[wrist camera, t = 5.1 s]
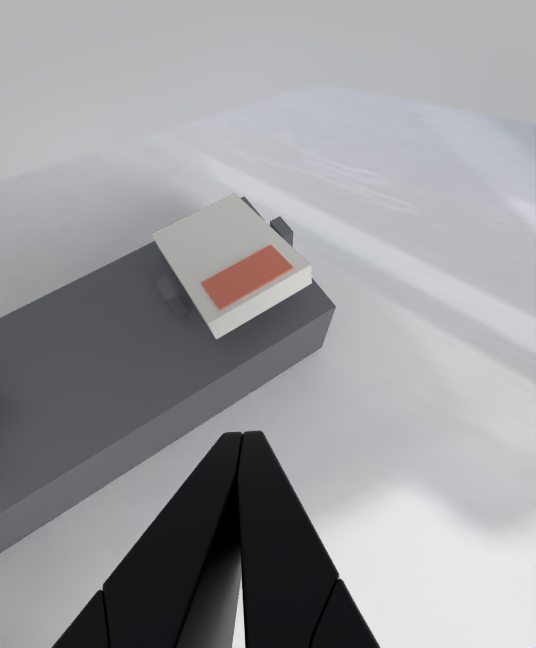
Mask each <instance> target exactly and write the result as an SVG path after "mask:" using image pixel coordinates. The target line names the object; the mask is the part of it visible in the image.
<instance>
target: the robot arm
mask: <svg viewBox="0 0 536 648" xmlns="http://www.w3.org/2000/svg"><path fill="white" fill-rule="evenodd" d="M241 572H242V590H243V609H244V628H245V647H246V648H380V646H379V644H378V643H377V641H376V639H375V637H374V636H373V634H372V632H371V630H370V629H369V627H368V625H367V623H366V622H365V620H364V618H363V616H362V615H361V613H360V611H359V609H358V608H357V606H356V604H355V602H354V600H353V598H352V597H351V595H350V593H349V591H348V589H347V587H346V585H345V584H344V582H343V580H342V579H339V573H338V571H337V569H336V567H335V565H334V564H333V562H332V560H331V558H330V556H329V554H328V552H327V551H326V549H325V547H324V545H323V543H322V541H321V539H320V538H319V536H318V534H317V532H316V530H315V528H314V526H313V525H312V523H311V521H310V519H309V517H308V515H307V513H306V511H305V510H304V508H303V506H302V504H301V502H300V500H299V498H298V497H297V495H296V493H295V491H294V489H293V487H292V485H291V484H290V482H289V480H288V478H287V476H286V474H285V472H284V471H283V469H282V467H281V465H280V463H279V461H278V459H277V458H276V456H275V454H274V452H273V450H272V448H271V446H270V444H269V443H268V441H267V439H266V437H265V435H264V433H263V432H262V431H246V432H244V434H242V433H241V432H226V433H224V434H222V436H221V437H220V438H219V439H218V441H217V442H216V443H215V444H214V446H213V447H212V448H211V449H210V451H209V452H208V453H207V454H206V456H205V457H204V458H203V459H202V461H201V462H200V463H199V464H198V466H197V467H196V468H195V469H194V471H193V472H192V473H191V474H190V476H189V477H188V478H187V480H186V481H185V482H184V483H183V485H182V486H181V487H180V488H179V490H178V491H177V492H176V493H175V495H174V496H173V497H172V498H171V500H170V501H169V502H168V503H167V505H166V506H165V507H164V508H163V510H162V511H161V512H160V513H159V515H158V516H157V517H156V519H155V520H154V521H153V522H152V524H151V525H150V526H149V527H148V529H147V530H146V531H145V532H144V534H143V535H142V536H141V537H140V539H139V540H138V541H137V542H136V544H135V545H134V546H133V547H132V549H131V550H130V551H129V552H128V554H127V555H126V556H125V557H124V559H123V560H122V561H121V563H120V564H119V565H118V566H117V568H116V569H115V570H114V571H113V573H112V574H111V575H110V576H109V578H108V579H107V580H106V581H105V583H104V584H103V591H102V590H98V591H97V592H96V594H95V595H94V596H93V597H92V599H91V600H90V601H89V602H88V604H87V605H86V606H85V607H84V609H83V610H82V611H81V612H80V614H79V615H78V616H77V618H76V619H75V620H74V621H73V622H72V624H71V625H70V626H69V627H68V628H67V630H66V631H65V632H64V633H63V634H62V636H61V637H60V638H59V639H58V641H57V642H56V643H55V644H54V645H53V647H52V648H232V641H233V634H234V626H235V618H236V611H237V603H238V595H239V588H240V580H241Z"/></svg>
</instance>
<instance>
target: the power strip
mask: <svg viewBox="0 0 536 648" xmlns="http://www.w3.org/2000/svg"><path fill="white" fill-rule="evenodd" d="M241 199H242V200H243V201H244V202H245V203H246V204H247V205H248V206H249V207H250V208H251V209H252V210H253V211H254V212H255V213H257V214H258V215H259V213H258V212H257V211H256V210H255V209H254V207H253V206H252V205H251V204H250V203H249V201H248V200H247V199H246V198H245V197H242V198H241ZM259 216H260V215H259ZM260 217H261V216H260ZM261 218H262V217H261ZM262 219H263V218H262ZM263 220H264V219H263ZM270 227H271V228H272V229H274V230H275V231H276V232H277V233H278V234H279V235H280V236H281V237H282V238H283V239H284V240H285V241H286V242H287V243H288V244H289V245H290V246H292V245H293V231H292V230H291V229H290V227H289V226H288V225H287V224H286V223H285V222H284V220H283V219H282V218H281V217H278V218H276V219H274V220H272V221H270ZM335 307H336V306H335V305H334V304H333V303H332V301H331V300H330V299H329V298H328V297H327V295H326V294H325V293H324V292H323V291H322V289H321V288H320V287H319V286H318V285H317V283H316V282H315V281H314V280H313V278H312V284H310V285H308V286H307V287H305V288H303V289H301V290H300V291H298V292H296V293H295V294H293V295H291V296H290V297H288V298H286V299H284V300H283V301H281V302H279V303H278V304H276V305H274V306H273V307H271V308H269V309H267V310H266V311H264V312H262V313H261V314H259V315H257V316H256V317H254V318H252V319H250V320H249V321H247V322H245V323H244V324H242V325H240V326H239V327H237V328H235V329H233V330H232V331H230V332H228V333H227V334H225V335H223V336H222V337H220V338H218V339H215V337H214V336H213V334H212V332H211V331H210V329H209V328H208V326H207V324H206V323H205V321H204V320H203V318H202V316H201V315H200V313H199V312H198V310H197V308H196V307H195V305H194V304H193V302H192V300H191V299H190V297H189V296H188V294H187V293H186V291H185V289H184V288H183V286H182V285H181V283H180V281H179V280H178V278H177V277H176V275H175V273H174V272H173V270H172V269H171V267H170V265H169V264H168V262H167V261H166V259H165V257H164V256H163V254H162V253H161V251H160V249H159V248H158V246H157V244H156V242H155V241H154V242H152V243H150V244H148V245H146V246H144V247H142V248H140V249H138V250H136V251H134V252H132V253H130V254H128V255H126V256H124V257H122V258H120V259H118V260H116V261H114V262H112V263H110V264H108V265H106V266H104V267H102V268H100V269H98V270H96V271H94V272H92V273H90V274H88V275H86V276H84V277H82V278H80V279H78V280H76V281H74V282H72V283H70V284H68V285H66V286H64V287H62V288H60V289H58V290H56V291H54V292H52V293H50V294H48V295H46V296H44V297H42V298H40V299H38V300H36V301H34V302H32V303H30V304H28V305H26V306H24V307H21V308H19V309H17V310H15V311H13V312H11V313H9V314H7V315H5V316H3V317H1V318H0V553H1V552H2V551H4V550H5V549H7V548H9V547H10V546H12V545H13V544H15V543H16V542H18V541H19V540H21V539H23V538H24V537H26V536H27V535H29V534H30V533H32V532H34V531H35V530H37V529H38V528H40V527H41V526H43V525H44V524H46V523H48V522H49V521H51V520H52V519H54V518H55V517H57V516H59V515H60V514H62V513H63V512H65V511H66V510H68V509H69V508H71V507H73V506H74V505H76V504H77V503H79V502H80V501H82V500H84V499H85V498H87V497H88V496H90V495H91V494H93V493H94V492H96V491H98V490H99V489H101V488H102V487H104V486H105V485H107V484H109V483H110V482H112V481H113V480H115V479H116V478H118V477H119V476H121V475H123V474H124V473H126V472H127V471H129V470H130V469H132V468H134V467H135V466H137V465H138V464H140V463H141V462H143V461H144V460H146V459H148V458H149V457H151V456H152V455H154V454H155V453H157V452H159V451H160V450H162V449H163V448H165V447H166V446H168V445H169V444H171V443H173V442H174V441H176V440H177V439H179V438H180V437H182V436H184V435H185V434H187V433H188V432H190V431H191V430H193V429H194V428H196V427H198V426H199V425H201V424H202V423H204V422H205V421H207V420H209V419H210V418H212V417H213V416H215V415H216V414H218V413H220V412H221V411H223V410H224V409H226V408H227V407H229V406H230V405H232V404H234V403H235V402H237V401H238V400H240V399H241V398H243V397H245V396H246V395H248V394H249V393H251V392H252V391H254V390H255V389H257V388H259V387H260V386H262V385H263V384H265V383H266V382H268V381H270V380H271V379H273V378H274V377H276V376H277V375H279V374H280V373H282V372H284V371H285V370H287V369H288V368H290V367H291V366H293V365H295V364H296V363H298V362H299V361H301V360H302V359H304V358H305V357H307V356H309V355H310V354H312V353H313V352H315V351H316V350H318V349H320V348H321V347H322V345H323V342H324V339H325V336H326V333H327V330H328V327H329V325H330V322H331V319H332V316H333V313H334V310H335Z"/></svg>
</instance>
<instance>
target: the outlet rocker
mask: <svg viewBox="0 0 536 648" xmlns="http://www.w3.org/2000/svg"><path fill="white" fill-rule="evenodd" d="M151 235H152V237H153V239H154V240H155V242H156V244H157V246H158V248H159V249H160V251H161V253H162V254H163V256H164V257H165V259H166V261H167V262H168V264H169V265H170V267H171V269H172V270H173V272H174V273H175V275H176V277H177V278H178V280H179V281H180V283H181V285H182V286H183V288H184V289H185V291H186V293H187V294H188V296H189V297H190V299H191V300H192V302H193V304H194V305H195V307H196V308H197V310H198V312H199V313H200V315H201V316H202V318H203V320H204V321H205V323H206V324H207V326H208V328H209V329H210V331H211V332H212V334H213V336H214V337H215V339H218V338H220V337H222V336H223V335H225V334H227V333H228V332H230V331H232V330H233V329H235V328H237V327H239V326H240V325H242V324H244V323H245V322H247V321H249V320H250V319H252V318H254V317H256V316H257V315H259V314H261V313H262V312H264V311H266V310H267V309H269V308H271V307H273V306H274V305H276V304H278V303H279V302H281V301H283V300H284V299H286V298H288V297H290V296H291V295H293V294H295V293H296V292H298V291H300V290H301V289H303V288H305V287H307V286H308V285H310V284H312V277H311V264H310V263H308V262H307V261H306V260H305V259H304V258H303V257H302V256H301V255H300V254H299V253H298V252H297V251H296V250H295V249H294V248H293V247H292V246H290V245H289V244H288V243H287V242H286V241H285V240H284V239H283V238H282V237H281V236H280V235H279V234H278V233H277V232H276V231H275V230H274V229H272V228H271V227H270V226H269V225H268V224H267V223H266V222H265V221H264V220H263V219H262V218H261V217H260V216H259V215H258V214H257V213H255V212H254V211H253V210H252V209H251V208H250V207H249V206H248V205H247V204H246V203H245V202H244V201H243V200H242V199H241V198H240V197H239V196H237V195H236V194H235V193H234V194H231V195H229V196H227V197H225V198H223V199H221V200H219V201H217V202H215V203H213V204H211V205H209V206H207V207H205V208H203V209H201V210H199V211H197V212H195V213H193V214H191V215H189V216H187V217H185V218H183V219H181V220H179V221H177V222H175V223H173V224H171V225H169V226H166V227H164V228H162V229H160V230H158V231H156V232H154V233H152V234H151Z"/></svg>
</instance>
